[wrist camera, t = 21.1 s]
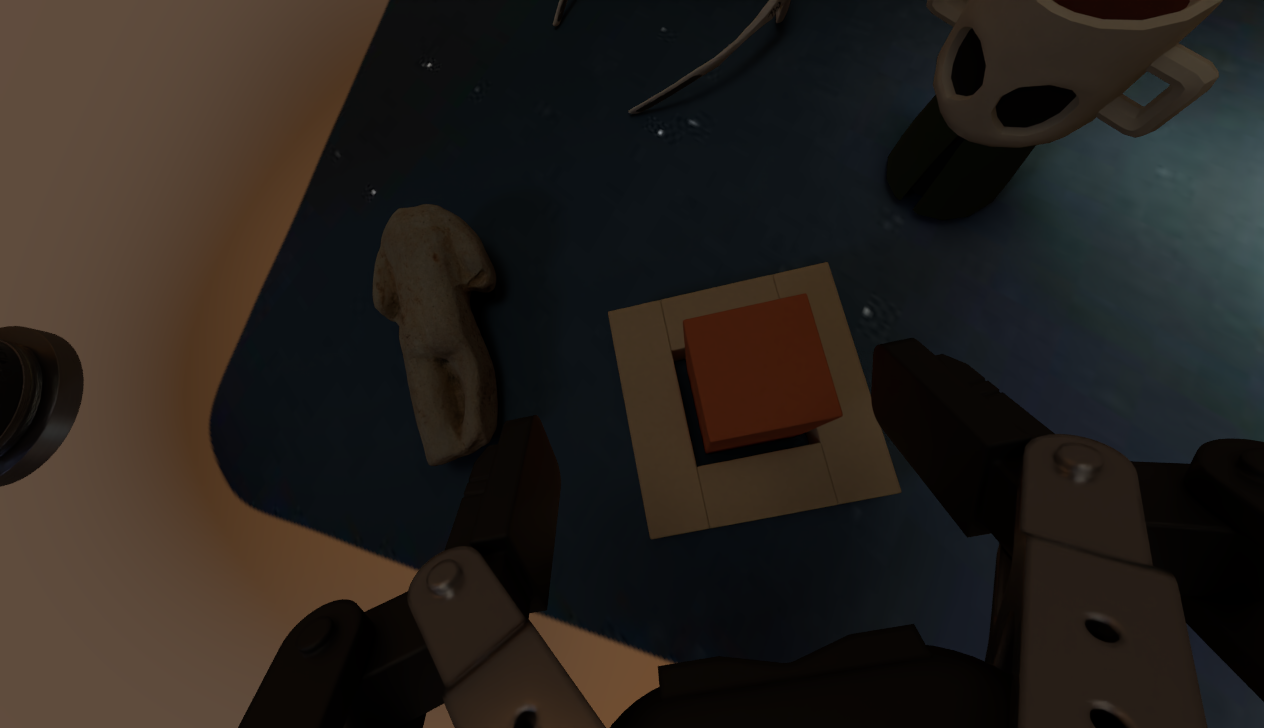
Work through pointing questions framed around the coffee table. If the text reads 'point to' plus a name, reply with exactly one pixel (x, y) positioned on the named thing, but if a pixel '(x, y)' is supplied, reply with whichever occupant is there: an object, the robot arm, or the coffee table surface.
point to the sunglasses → (775, 5)
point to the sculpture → (439, 326)
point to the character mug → (1039, 88)
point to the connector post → (758, 374)
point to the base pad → (761, 484)
